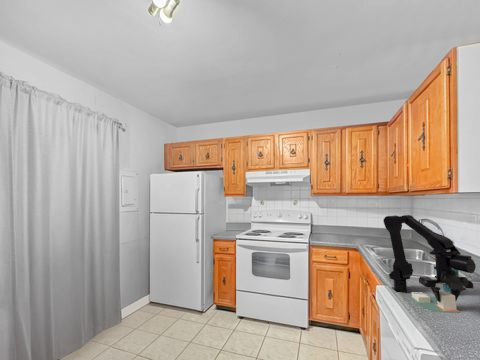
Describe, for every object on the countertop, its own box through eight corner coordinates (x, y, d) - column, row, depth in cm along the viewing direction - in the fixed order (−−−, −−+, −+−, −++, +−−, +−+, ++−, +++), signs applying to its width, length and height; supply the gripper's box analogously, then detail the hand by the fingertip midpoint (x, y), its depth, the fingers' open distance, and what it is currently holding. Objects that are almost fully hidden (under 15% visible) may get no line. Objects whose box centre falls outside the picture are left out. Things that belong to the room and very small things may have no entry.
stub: (437, 305, 108) (436, 291, 109) (450, 305, 108) (448, 291, 108) (443, 309, 105) (442, 295, 105) (456, 309, 104) (455, 295, 104)
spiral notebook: (411, 296, 119) (411, 292, 119) (422, 297, 118) (422, 292, 118) (418, 302, 113) (418, 297, 113) (430, 302, 112) (430, 297, 112)
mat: (407, 296, 120) (407, 295, 120) (436, 297, 118) (436, 296, 118) (427, 312, 104) (426, 311, 104) (460, 313, 102) (460, 312, 102)
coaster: (435, 305, 110) (435, 304, 110) (449, 305, 109) (449, 304, 109) (444, 311, 104) (444, 310, 104) (459, 312, 103) (459, 311, 103)
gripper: (432, 271, 101) (434, 309, 100) (482, 272, 98) (486, 312, 97) (416, 263, 112) (419, 298, 111) (462, 264, 109) (465, 299, 108)
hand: (446, 301), depth 106 cm, fingers open, 6 cm apart
